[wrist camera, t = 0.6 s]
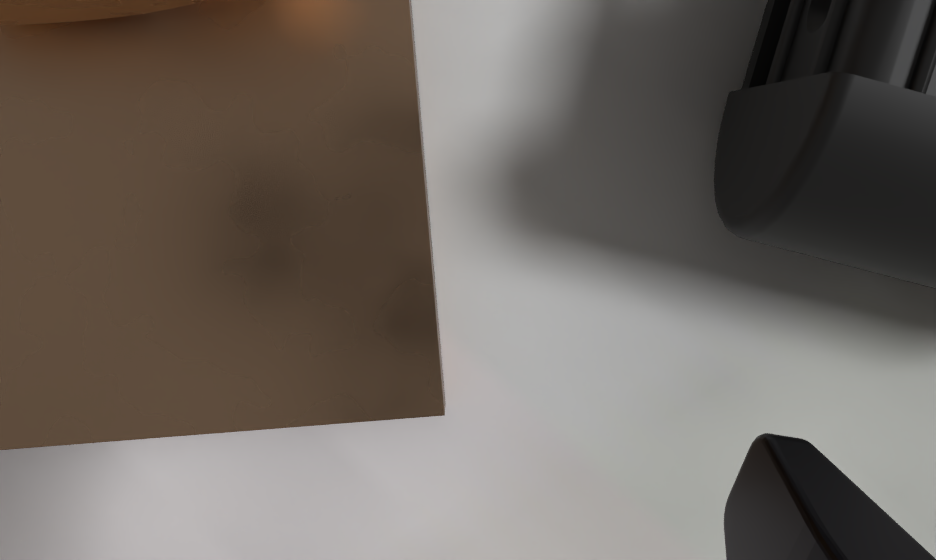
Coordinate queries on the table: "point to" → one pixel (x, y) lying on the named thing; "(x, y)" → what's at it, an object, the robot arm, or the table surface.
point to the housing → (214, 223)
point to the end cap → (837, 136)
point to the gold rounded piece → (78, 9)
